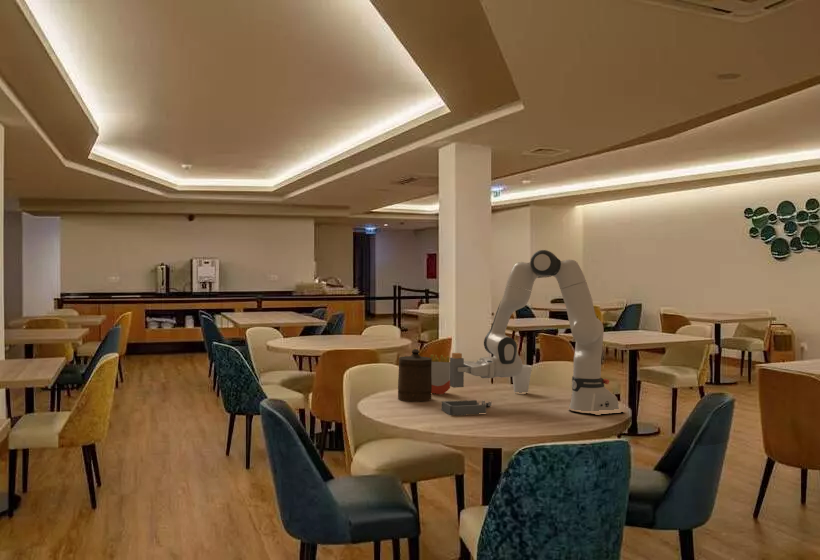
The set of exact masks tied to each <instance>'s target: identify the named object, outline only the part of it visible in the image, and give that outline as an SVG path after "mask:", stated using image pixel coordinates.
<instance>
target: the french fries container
mask: <svg viewBox="0 0 820 560" xmlns="http://www.w3.org/2000/svg"><path fill="white" fill-rule="evenodd" d="M429 358H431V359H432V365H431V377H432V390H431V393H436V394H435V395H444V394H445V393H446V392H447V391H449V390H450V389H451V386H450V358H451V356H446V357H444V355H443V354H441V355H440V358H439V357H438V355H437V354H435V355H434V354H430V355H429Z"/></svg>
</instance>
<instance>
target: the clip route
mask: <svg viewBox="0 0 820 560" xmlns="http://www.w3.org/2000/svg"><path fill="white" fill-rule="evenodd" d="M477 405H480V402H477ZM481 405H486V406H493V405H492V401H488V402H486V401H485V400H481Z"/></svg>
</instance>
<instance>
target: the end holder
mask: <svg viewBox="0 0 820 560" xmlns="http://www.w3.org/2000/svg"><path fill="white" fill-rule="evenodd" d="M477 403H478V401H477V400H476V399H473V400H445V401H444V400H443V401H441V411H442V412H444V413H445V412H446V413H445V414H447V415H448V416H450V415H456V416H467V415H466V414H479V413H486V414H487V407H486V405H482V404H479V405H477Z"/></svg>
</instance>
